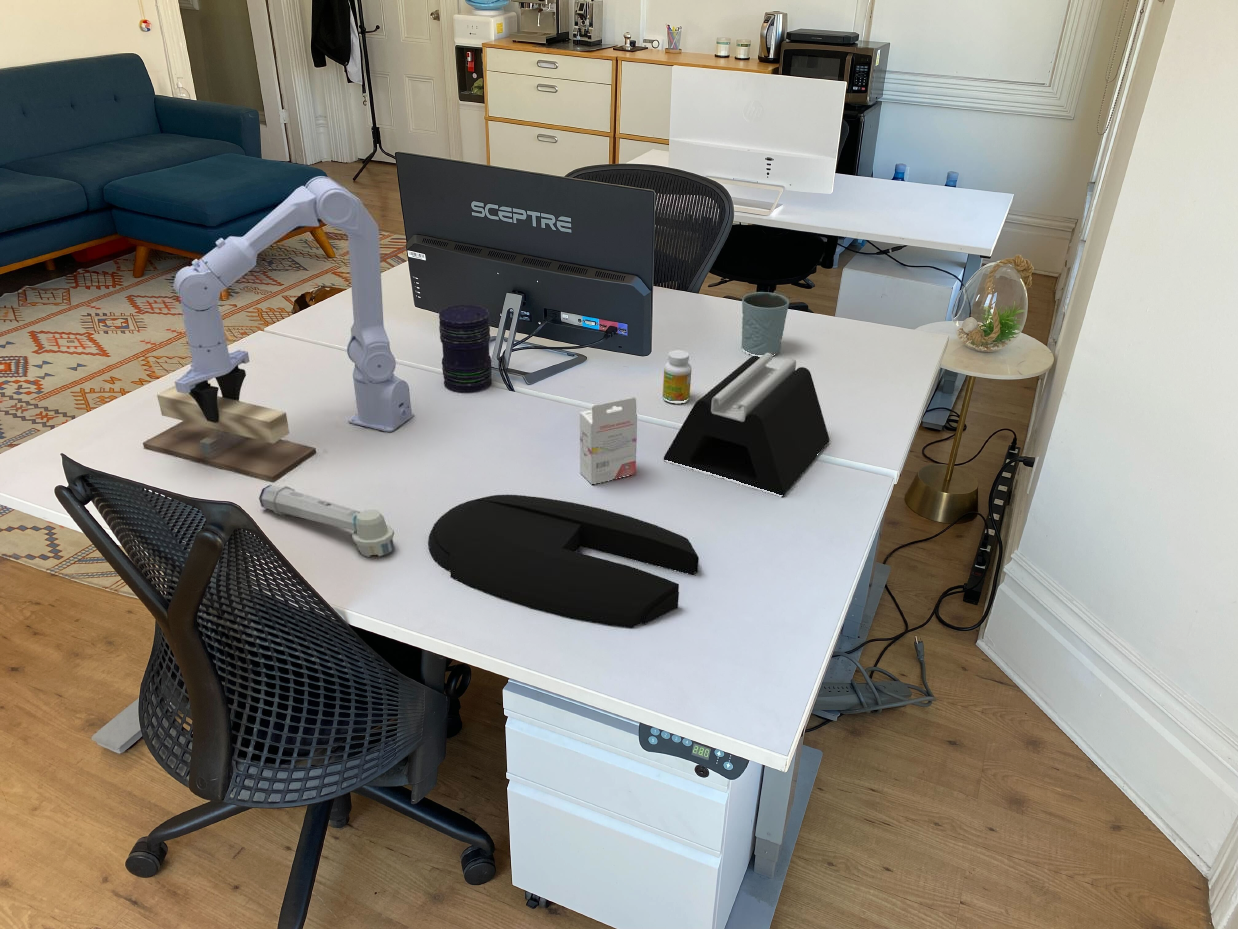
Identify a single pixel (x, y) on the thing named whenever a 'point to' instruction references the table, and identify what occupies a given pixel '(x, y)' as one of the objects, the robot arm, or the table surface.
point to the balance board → (232, 452)
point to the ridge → (219, 443)
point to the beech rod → (227, 416)
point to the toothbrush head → (333, 517)
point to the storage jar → (465, 348)
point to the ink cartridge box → (608, 440)
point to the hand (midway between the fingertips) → (222, 415)
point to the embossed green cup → (763, 322)
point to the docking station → (561, 558)
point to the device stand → (755, 426)
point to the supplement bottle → (677, 376)
